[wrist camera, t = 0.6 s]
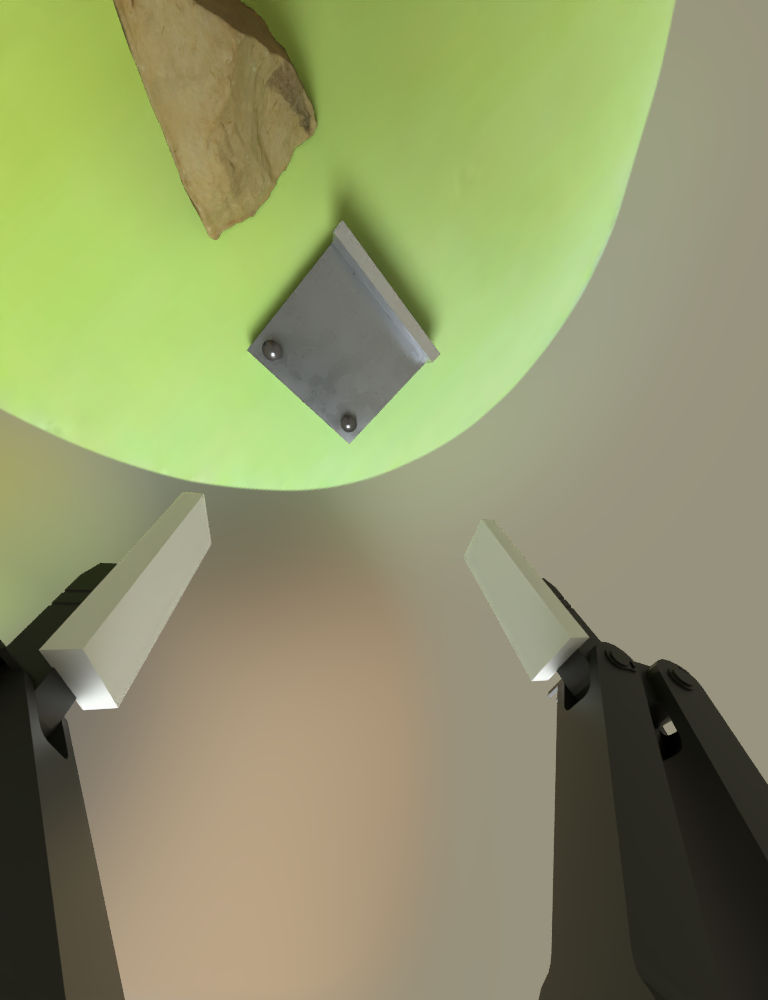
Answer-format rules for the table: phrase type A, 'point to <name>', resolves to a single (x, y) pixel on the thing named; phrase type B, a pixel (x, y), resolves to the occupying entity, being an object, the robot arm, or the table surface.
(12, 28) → the table surface
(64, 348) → the table surface
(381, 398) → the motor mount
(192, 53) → the rock
